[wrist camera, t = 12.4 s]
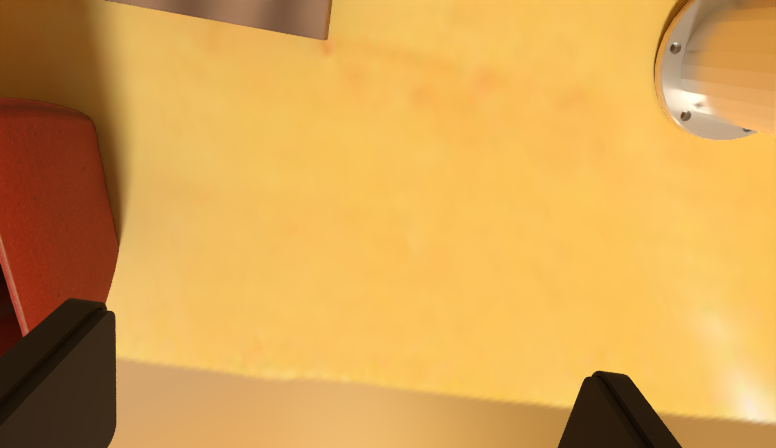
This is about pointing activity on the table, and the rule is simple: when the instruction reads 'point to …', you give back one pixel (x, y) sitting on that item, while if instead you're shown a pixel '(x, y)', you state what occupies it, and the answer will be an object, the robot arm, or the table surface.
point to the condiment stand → (254, 13)
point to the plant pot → (50, 215)
